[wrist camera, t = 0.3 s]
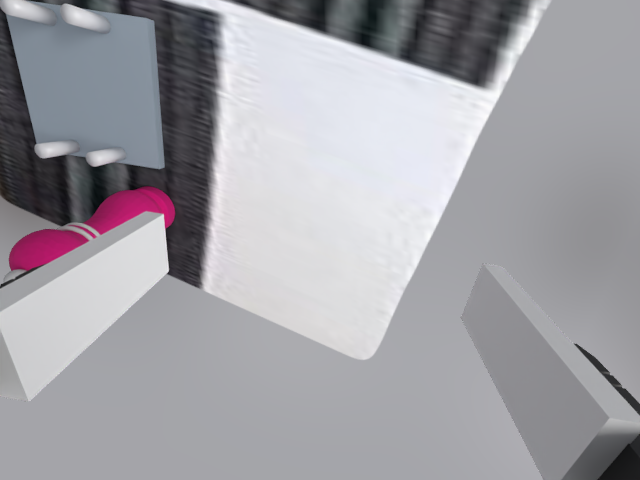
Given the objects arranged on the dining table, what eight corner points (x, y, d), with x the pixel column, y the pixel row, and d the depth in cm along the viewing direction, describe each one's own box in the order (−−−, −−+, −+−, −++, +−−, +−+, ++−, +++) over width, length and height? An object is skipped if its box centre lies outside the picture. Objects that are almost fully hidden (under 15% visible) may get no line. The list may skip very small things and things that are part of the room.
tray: (13, 0, 34) (-48, -19, 29) (154, 21, 34) (118, 6, 28) (46, 148, 41) (2, 155, 35) (164, 167, 40) (137, 176, 35)
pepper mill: (171, 181, 41) (27, 243, 23) (184, 231, 44) (67, 322, 26) (121, 183, 42) (-57, 246, 24) (137, 232, 45) (-10, 322, 26)
